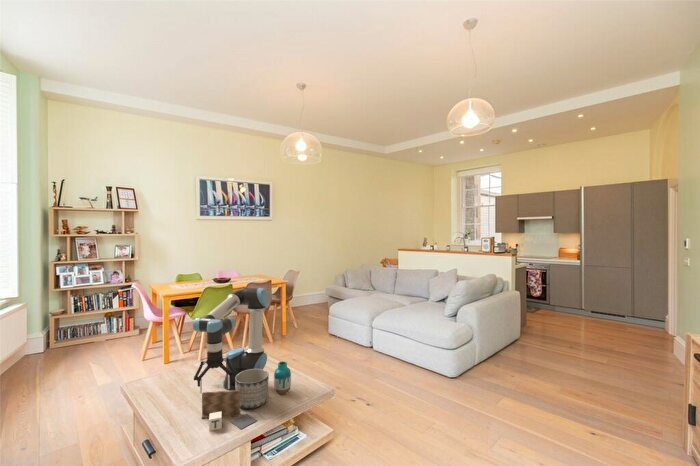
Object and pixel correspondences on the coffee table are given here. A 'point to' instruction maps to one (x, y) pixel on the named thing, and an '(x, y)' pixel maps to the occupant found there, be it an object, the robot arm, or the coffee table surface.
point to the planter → (252, 387)
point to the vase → (282, 378)
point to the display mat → (243, 421)
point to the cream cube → (215, 421)
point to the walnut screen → (221, 403)
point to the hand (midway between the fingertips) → (215, 389)
